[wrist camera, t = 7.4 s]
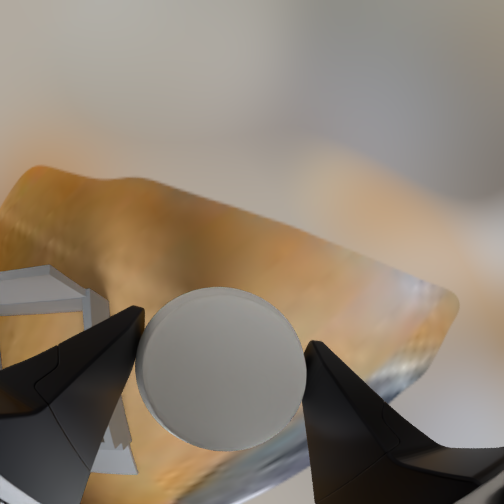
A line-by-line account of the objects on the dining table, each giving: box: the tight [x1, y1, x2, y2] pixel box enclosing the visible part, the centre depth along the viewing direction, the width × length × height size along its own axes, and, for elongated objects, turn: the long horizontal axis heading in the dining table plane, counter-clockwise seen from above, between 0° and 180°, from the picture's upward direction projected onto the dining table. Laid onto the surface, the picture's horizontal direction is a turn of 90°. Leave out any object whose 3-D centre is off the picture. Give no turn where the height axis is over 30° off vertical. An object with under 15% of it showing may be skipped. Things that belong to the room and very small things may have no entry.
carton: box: [0, 265, 138, 475], centre depth 11 cm, size 14×13×9 cm
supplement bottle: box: [135, 287, 306, 451], centre depth 10 cm, size 6×6×10 cm
